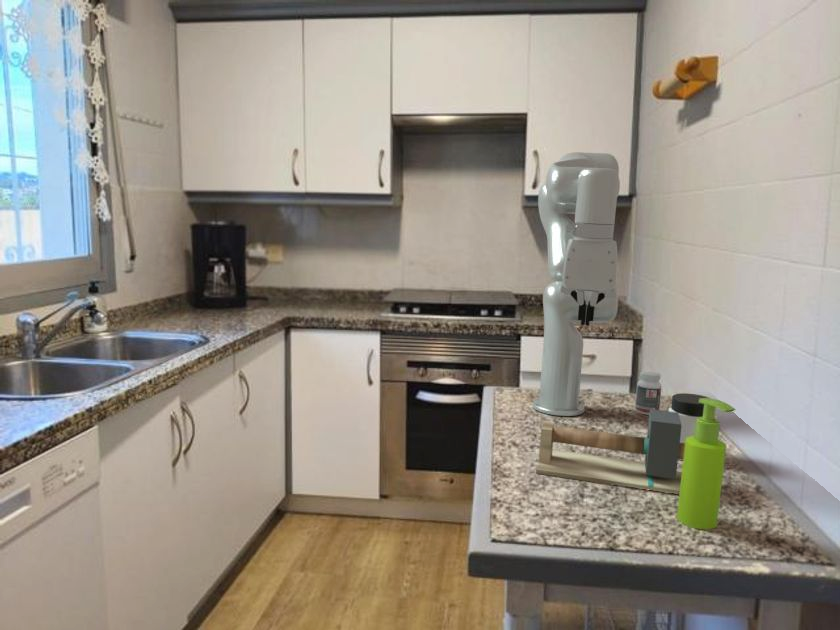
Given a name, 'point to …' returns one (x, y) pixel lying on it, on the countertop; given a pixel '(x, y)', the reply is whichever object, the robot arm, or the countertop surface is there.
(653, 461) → the collar
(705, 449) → the soap dispenser
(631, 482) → the pipe rig
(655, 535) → the countertop surface
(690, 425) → the jar
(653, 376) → the pill bottle
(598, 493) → the countertop surface
